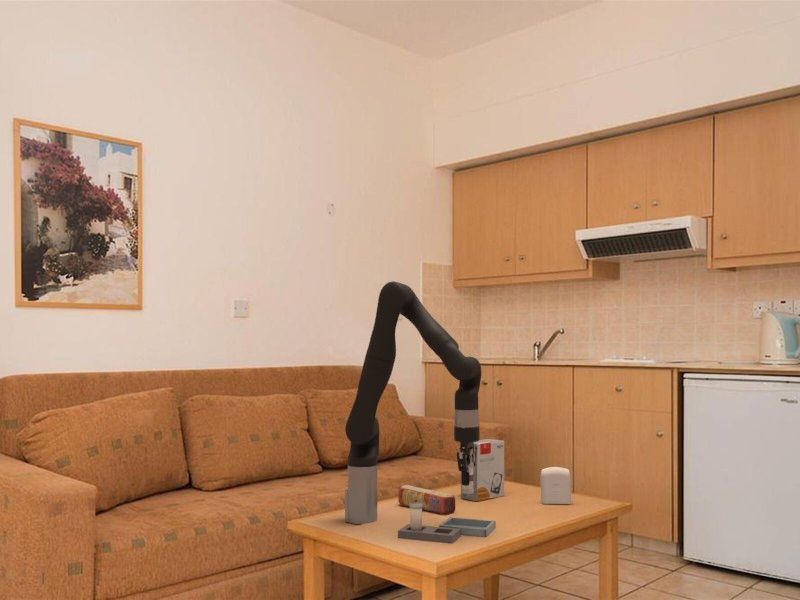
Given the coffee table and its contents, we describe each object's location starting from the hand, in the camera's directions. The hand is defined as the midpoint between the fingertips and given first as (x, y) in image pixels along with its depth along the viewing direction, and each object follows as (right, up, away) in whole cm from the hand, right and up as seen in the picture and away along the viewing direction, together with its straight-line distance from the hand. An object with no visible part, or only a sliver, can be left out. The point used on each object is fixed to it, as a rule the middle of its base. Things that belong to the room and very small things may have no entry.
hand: (467, 483), depth 217 cm
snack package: (-11, -16, +29) cm, 35 cm away
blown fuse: (0, -3, 0) cm, 3 cm away
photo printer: (+34, -16, +37) cm, 52 cm away
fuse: (-15, -13, -7) cm, 21 cm away
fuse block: (-11, -13, -8) cm, 20 cm away
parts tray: (0, -14, -1) cm, 14 cm away
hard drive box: (+10, -17, +47) cm, 51 cm away
